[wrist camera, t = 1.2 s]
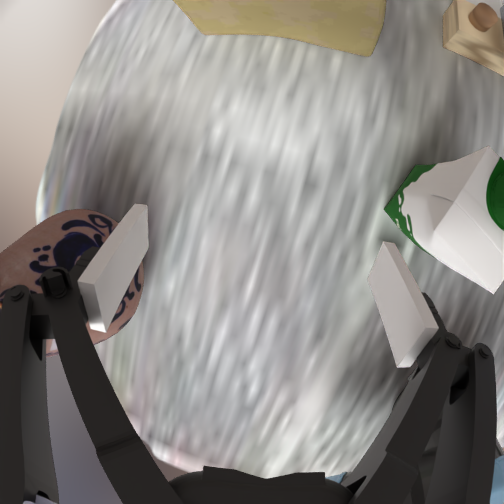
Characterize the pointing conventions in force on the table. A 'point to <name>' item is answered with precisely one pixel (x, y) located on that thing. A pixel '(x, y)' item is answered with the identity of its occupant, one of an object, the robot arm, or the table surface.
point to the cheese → (294, 20)
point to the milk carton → (457, 214)
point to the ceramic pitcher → (65, 261)
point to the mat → (490, 4)
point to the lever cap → (502, 17)
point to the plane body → (475, 34)
